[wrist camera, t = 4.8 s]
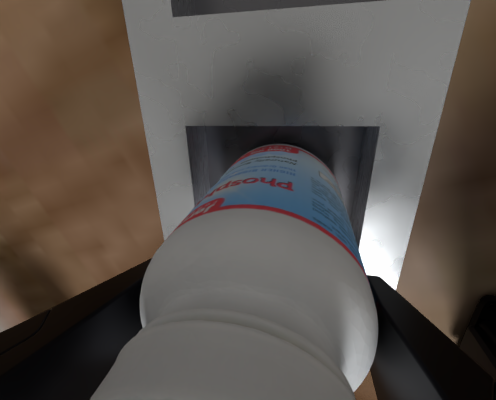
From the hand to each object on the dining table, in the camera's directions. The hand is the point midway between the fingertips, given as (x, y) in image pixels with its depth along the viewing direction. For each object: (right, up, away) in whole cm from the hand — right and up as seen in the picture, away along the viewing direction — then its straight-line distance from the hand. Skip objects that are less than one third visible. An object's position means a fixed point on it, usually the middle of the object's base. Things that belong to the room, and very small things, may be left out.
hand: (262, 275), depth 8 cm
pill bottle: (+1, +3, +6) cm, 6 cm away
